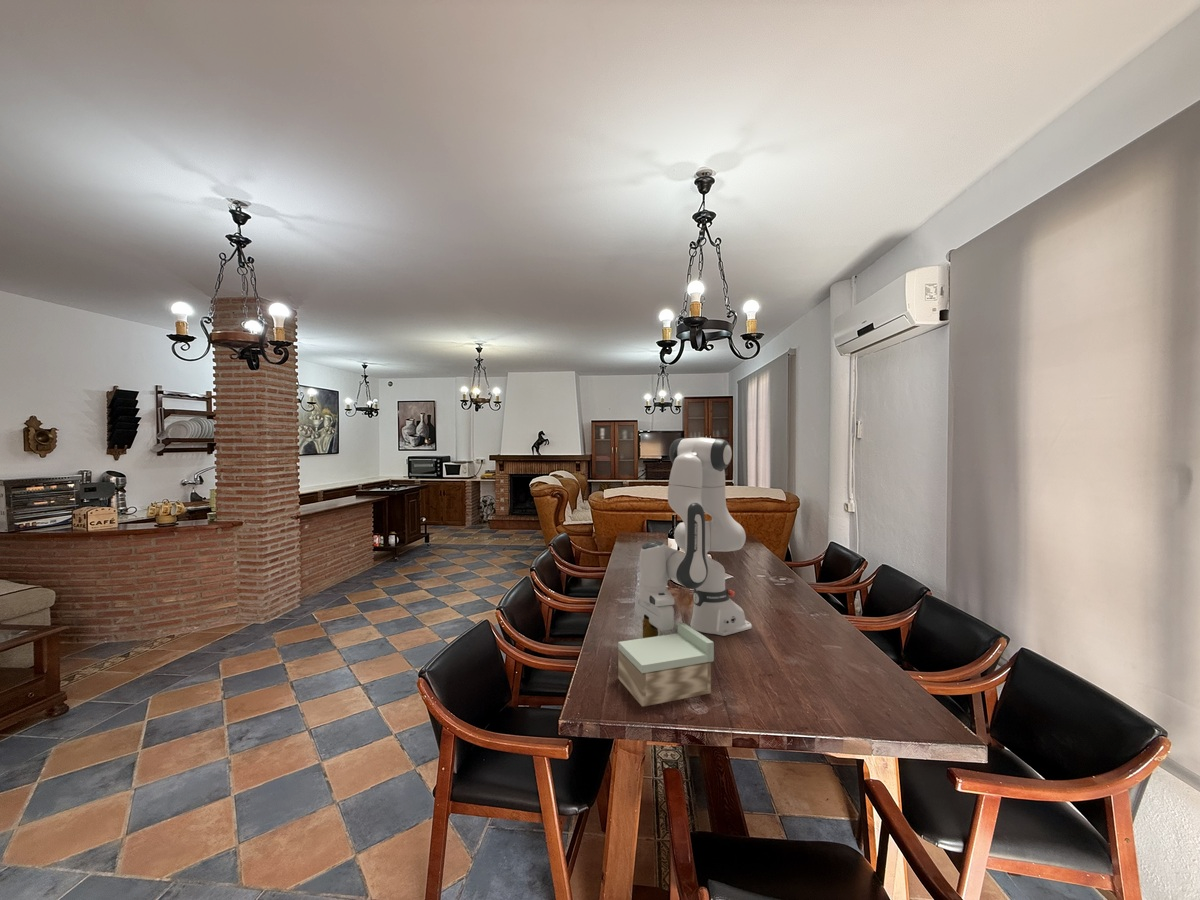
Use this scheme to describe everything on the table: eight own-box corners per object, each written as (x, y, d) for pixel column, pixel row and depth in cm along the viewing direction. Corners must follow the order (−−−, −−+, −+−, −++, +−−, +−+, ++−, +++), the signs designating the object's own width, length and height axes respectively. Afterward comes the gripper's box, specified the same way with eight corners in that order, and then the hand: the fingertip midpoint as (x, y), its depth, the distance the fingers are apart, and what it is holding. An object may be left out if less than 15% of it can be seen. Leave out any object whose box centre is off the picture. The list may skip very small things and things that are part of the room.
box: (680, 667, 139) (680, 640, 139) (710, 693, 124) (710, 662, 124) (618, 678, 132) (618, 650, 132) (642, 706, 117) (642, 674, 117)
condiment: (654, 646, 155) (654, 610, 155) (670, 655, 148) (670, 617, 148) (636, 650, 152) (636, 613, 152) (651, 660, 144) (651, 621, 144)
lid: (683, 639, 139) (683, 622, 140) (713, 661, 124) (713, 642, 125) (618, 649, 132) (618, 631, 132) (642, 673, 117) (642, 653, 117)
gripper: (630, 586, 159) (630, 627, 158) (659, 602, 140) (659, 649, 139) (647, 584, 161) (647, 625, 160) (677, 600, 142) (677, 646, 141)
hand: (652, 636), depth 150 cm, fingers open, 8 cm apart
